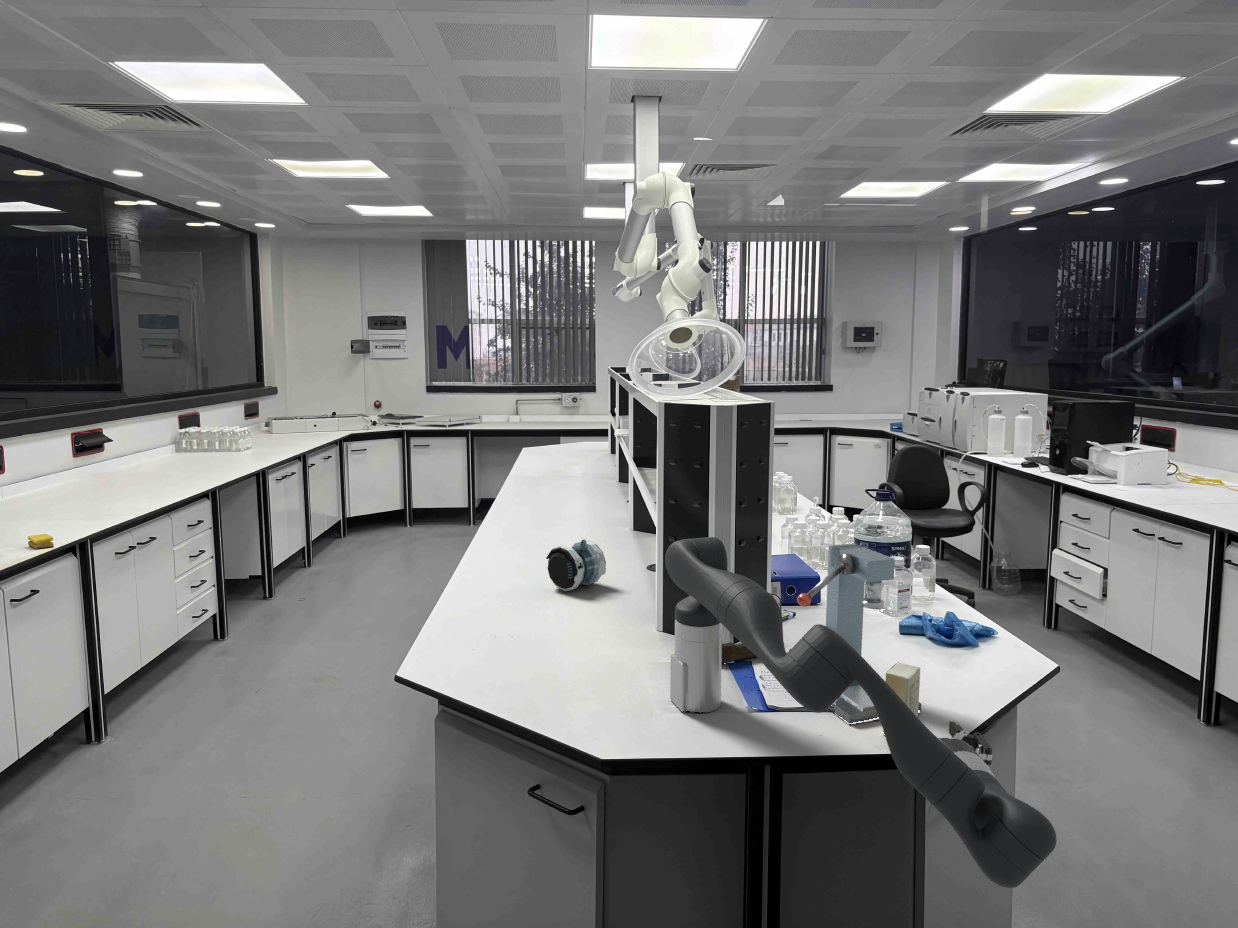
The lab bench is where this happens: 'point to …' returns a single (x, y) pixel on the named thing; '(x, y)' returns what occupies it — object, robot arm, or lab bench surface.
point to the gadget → (576, 565)
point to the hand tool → (735, 652)
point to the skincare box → (905, 684)
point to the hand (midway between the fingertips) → (925, 725)
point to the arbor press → (852, 610)
